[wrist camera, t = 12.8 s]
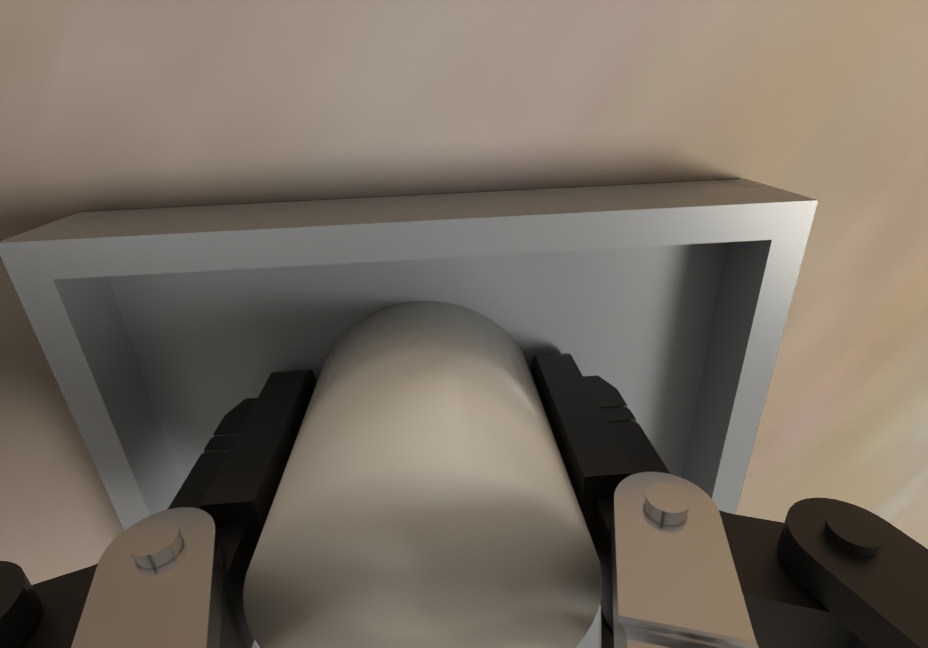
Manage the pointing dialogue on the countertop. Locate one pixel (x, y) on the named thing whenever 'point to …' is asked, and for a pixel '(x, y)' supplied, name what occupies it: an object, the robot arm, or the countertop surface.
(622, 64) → the countertop surface
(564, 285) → the tray
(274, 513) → the cream rounded piece
